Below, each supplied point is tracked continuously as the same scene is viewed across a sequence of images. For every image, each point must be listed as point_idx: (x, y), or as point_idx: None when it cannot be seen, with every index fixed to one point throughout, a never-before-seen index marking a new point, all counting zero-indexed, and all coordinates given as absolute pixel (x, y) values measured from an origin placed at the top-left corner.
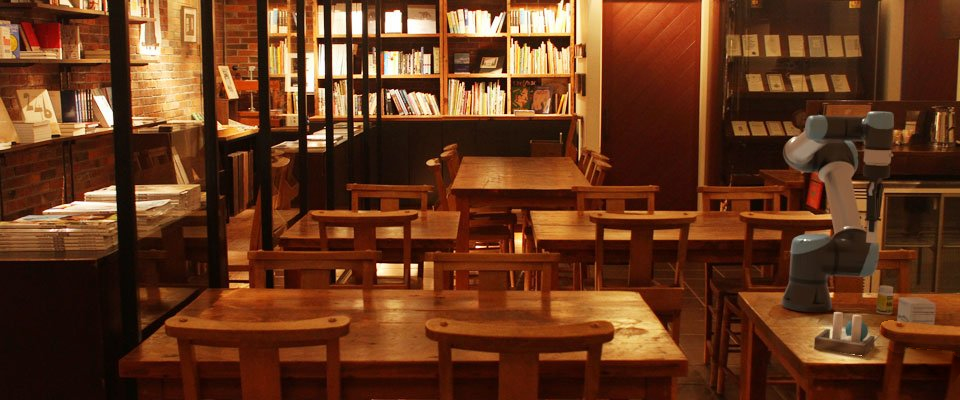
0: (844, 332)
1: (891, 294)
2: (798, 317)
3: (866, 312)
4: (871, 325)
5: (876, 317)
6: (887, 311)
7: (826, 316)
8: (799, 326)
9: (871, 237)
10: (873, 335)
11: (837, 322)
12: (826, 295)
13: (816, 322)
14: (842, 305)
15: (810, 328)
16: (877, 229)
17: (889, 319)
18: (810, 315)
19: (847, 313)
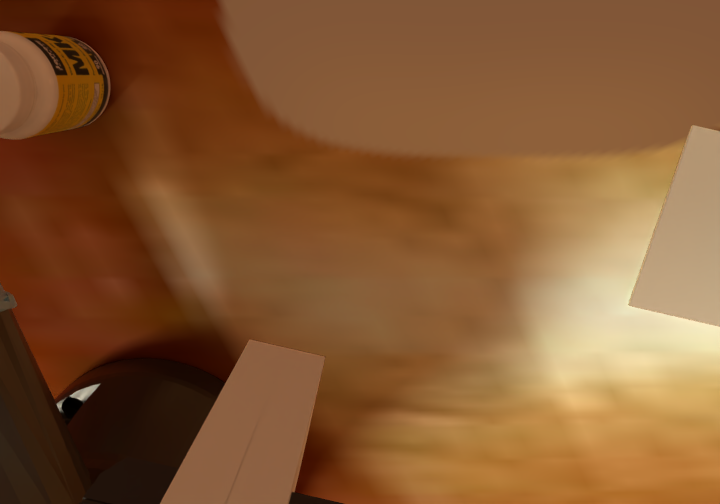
0: (668, 294)
1: (28, 47)
2: (403, 499)
3: (113, 180)
4: (426, 156)
5: (212, 127)
6: (99, 65)
7: None
8: (596, 491)
9: (300, 460)
10: (686, 148)
11: None
12: (175, 428)
13: (476, 421)
14: None
15: (619, 445)
16: (197, 458)
17: (226, 54)
18: (332, 449)
19: (192, 278)
